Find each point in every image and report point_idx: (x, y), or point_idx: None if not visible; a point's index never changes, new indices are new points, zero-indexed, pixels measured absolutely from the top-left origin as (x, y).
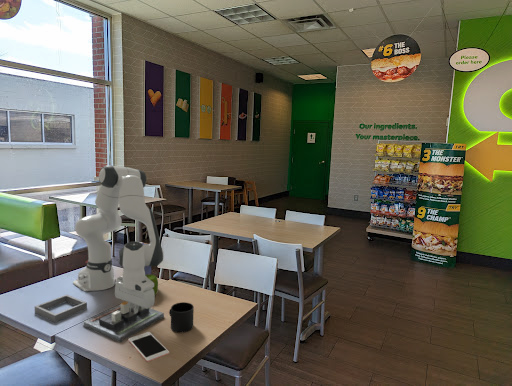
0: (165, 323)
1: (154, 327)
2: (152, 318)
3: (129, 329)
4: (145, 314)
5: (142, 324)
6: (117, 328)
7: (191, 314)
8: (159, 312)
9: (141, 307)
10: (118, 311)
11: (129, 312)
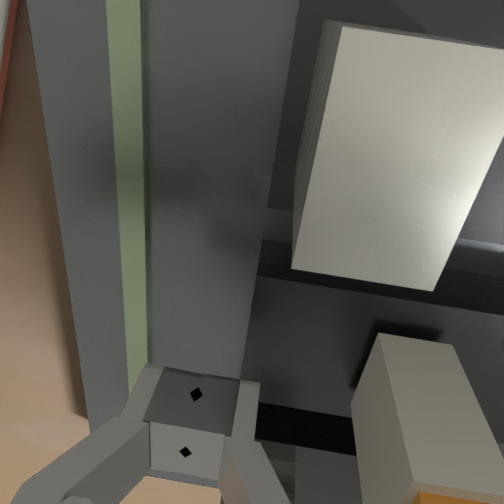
0: (21, 371)
1: (34, 298)
2: (94, 383)
3: (99, 100)
4: None
5: (74, 267)
6: (279, 36)
7: None
8: None
9: None
10: (361, 246)
11: (342, 389)
